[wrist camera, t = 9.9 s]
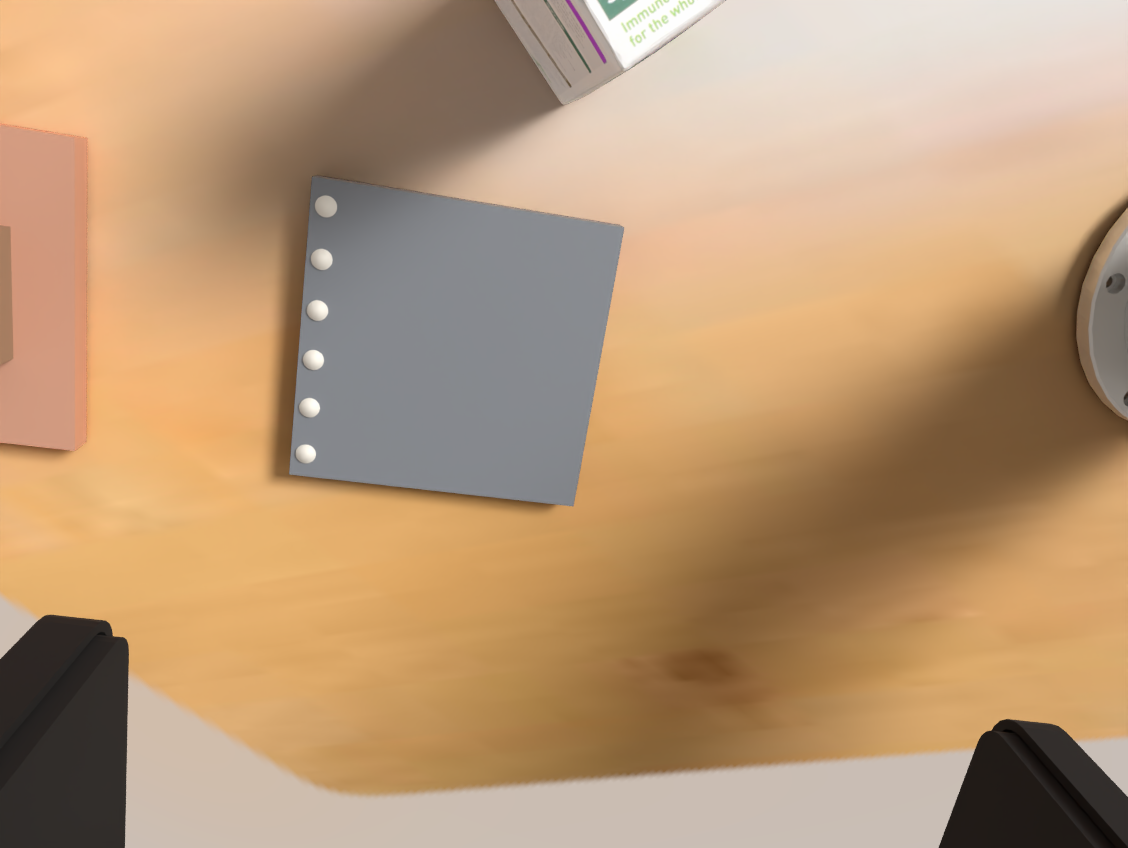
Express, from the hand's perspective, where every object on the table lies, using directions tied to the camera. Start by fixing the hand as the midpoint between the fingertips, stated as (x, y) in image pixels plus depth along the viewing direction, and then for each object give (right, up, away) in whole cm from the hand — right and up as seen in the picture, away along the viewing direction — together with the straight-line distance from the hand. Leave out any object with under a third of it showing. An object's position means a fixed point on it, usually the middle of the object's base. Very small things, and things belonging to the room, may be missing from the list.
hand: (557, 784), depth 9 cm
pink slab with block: (-22, +9, +24) cm, 34 cm away
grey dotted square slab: (-5, +7, +26) cm, 28 cm away
